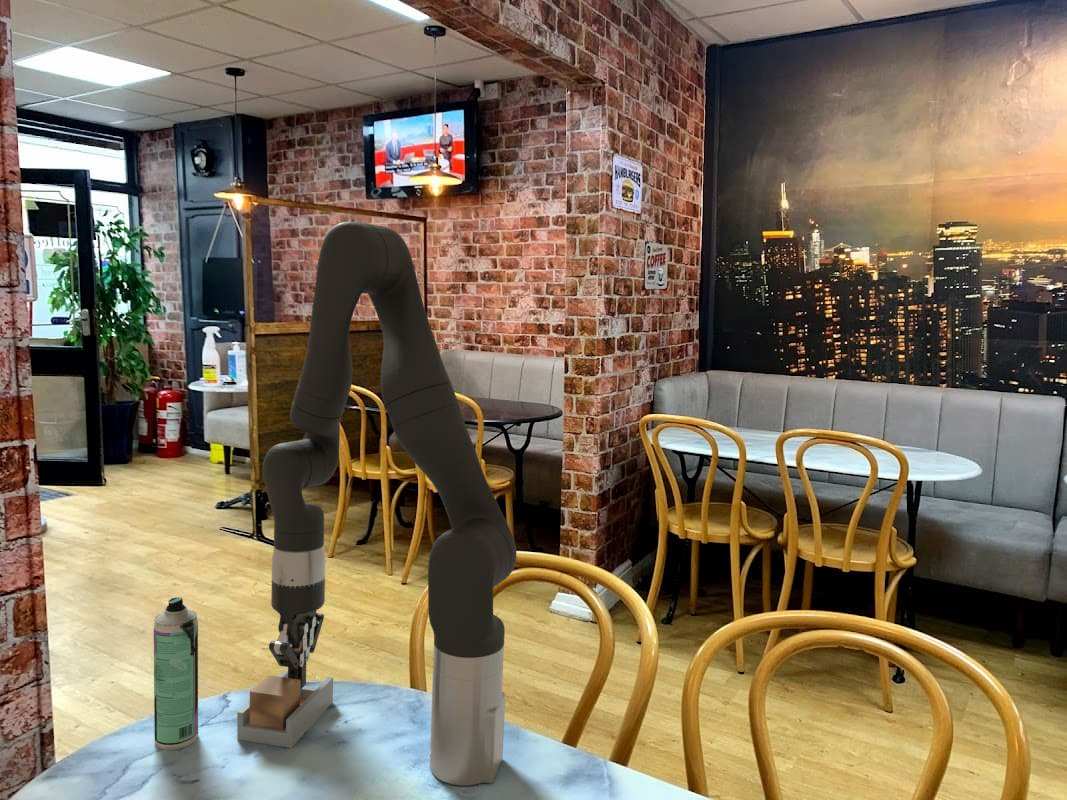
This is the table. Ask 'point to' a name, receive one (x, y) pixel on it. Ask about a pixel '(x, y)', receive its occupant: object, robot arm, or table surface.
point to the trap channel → (296, 723)
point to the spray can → (175, 676)
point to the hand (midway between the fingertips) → (297, 687)
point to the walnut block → (274, 702)
